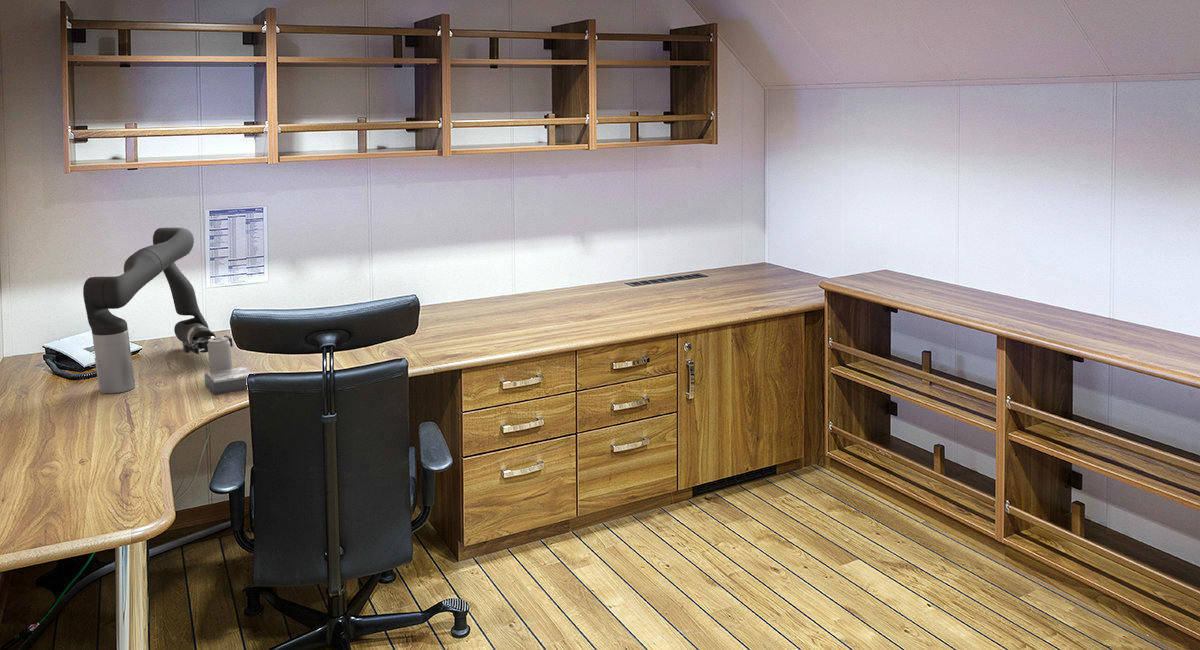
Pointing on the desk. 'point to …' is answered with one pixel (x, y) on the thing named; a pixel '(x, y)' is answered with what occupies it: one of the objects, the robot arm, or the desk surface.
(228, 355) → the beverage can
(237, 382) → the stand
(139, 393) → the desk surface
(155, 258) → the robot arm
